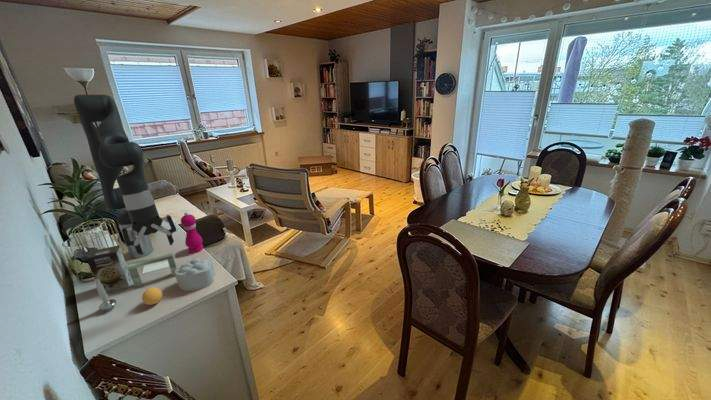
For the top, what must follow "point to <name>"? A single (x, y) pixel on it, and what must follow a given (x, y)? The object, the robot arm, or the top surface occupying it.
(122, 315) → the top surface
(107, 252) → the coffee box
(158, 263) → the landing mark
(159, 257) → the bridge
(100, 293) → the screw
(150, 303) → the ball
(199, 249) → the pepper mill
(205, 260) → the lumpy-topped squat cylinder
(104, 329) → the top surface
